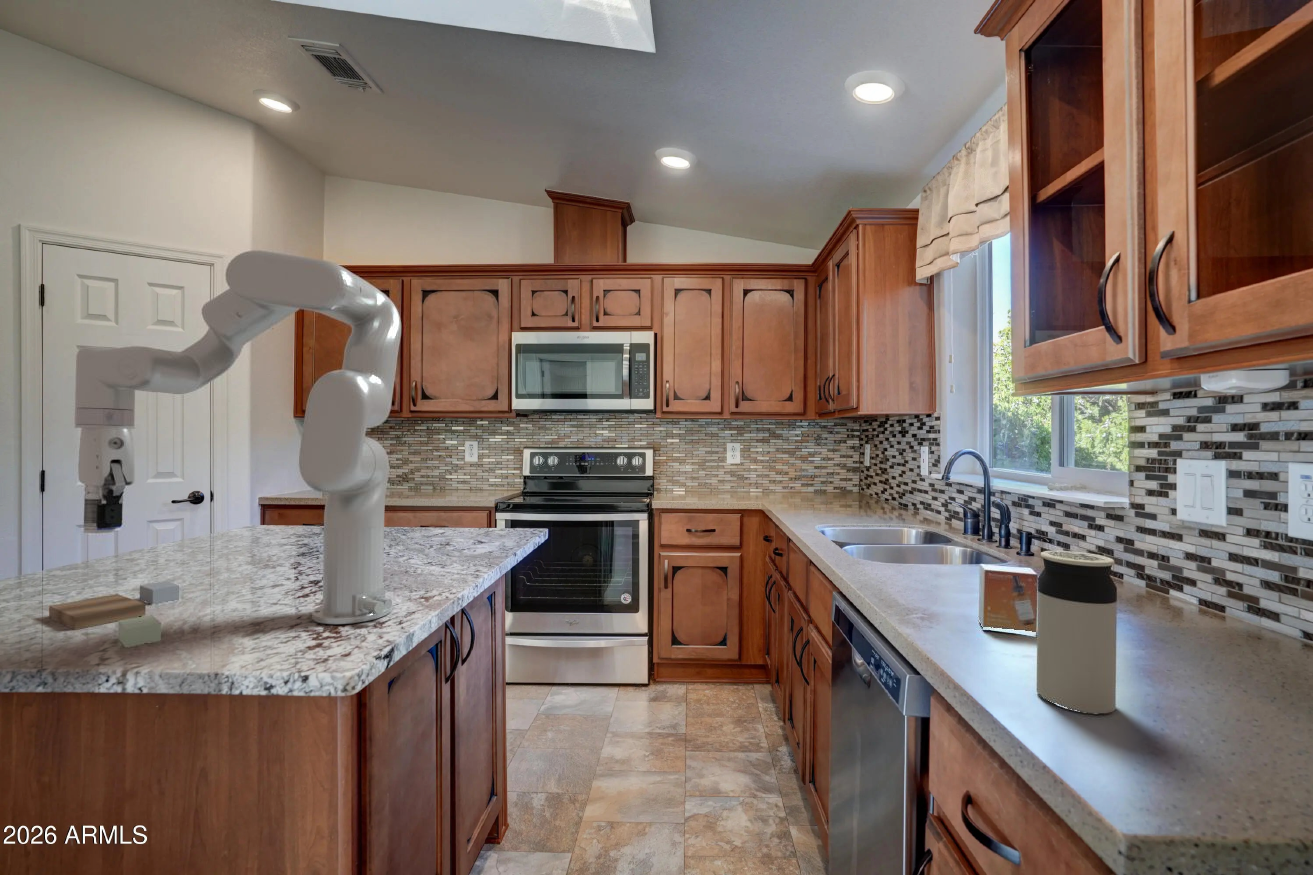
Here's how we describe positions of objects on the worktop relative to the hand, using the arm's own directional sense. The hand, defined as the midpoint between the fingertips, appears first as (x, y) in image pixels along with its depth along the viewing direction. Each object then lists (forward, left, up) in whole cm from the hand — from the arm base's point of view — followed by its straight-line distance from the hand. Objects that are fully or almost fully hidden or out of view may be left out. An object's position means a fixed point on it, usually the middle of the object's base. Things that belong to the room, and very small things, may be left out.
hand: (102, 524), depth 101 cm
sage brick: (-20, +1, -16) cm, 25 cm away
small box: (-135, -78, -16) cm, 156 cm away
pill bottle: (0, 0, -1) cm, 1 cm away
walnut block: (0, 0, -16) cm, 16 cm away
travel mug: (-142, -50, -16) cm, 151 cm away
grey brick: (+4, -10, -16) cm, 19 cm away
